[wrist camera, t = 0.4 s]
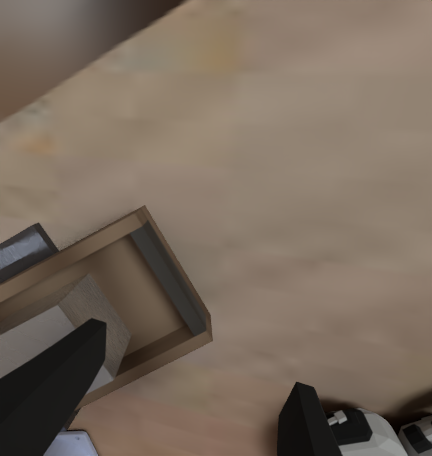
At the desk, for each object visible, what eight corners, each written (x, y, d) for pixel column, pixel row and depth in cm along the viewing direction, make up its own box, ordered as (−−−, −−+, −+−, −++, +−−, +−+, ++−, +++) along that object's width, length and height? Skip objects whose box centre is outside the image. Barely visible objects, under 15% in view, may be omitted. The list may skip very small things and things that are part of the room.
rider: (66, 359, 20) (6, 432, 15) (23, 304, 19) (-57, 364, 14) (141, 330, 18) (102, 401, 13) (99, 268, 17) (39, 321, 12)
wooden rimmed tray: (-90, 468, 21) (-136, 516, 18) (-184, 382, 19) (-253, 422, 16) (210, 314, 20) (212, 340, 17) (144, 205, 18) (134, 213, 15)
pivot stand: (76, 379, 26) (28, 447, 20) (-22, 257, 23) (-111, 297, 17) (135, 358, 24) (100, 426, 19) (38, 222, 21) (-40, 255, 15)
